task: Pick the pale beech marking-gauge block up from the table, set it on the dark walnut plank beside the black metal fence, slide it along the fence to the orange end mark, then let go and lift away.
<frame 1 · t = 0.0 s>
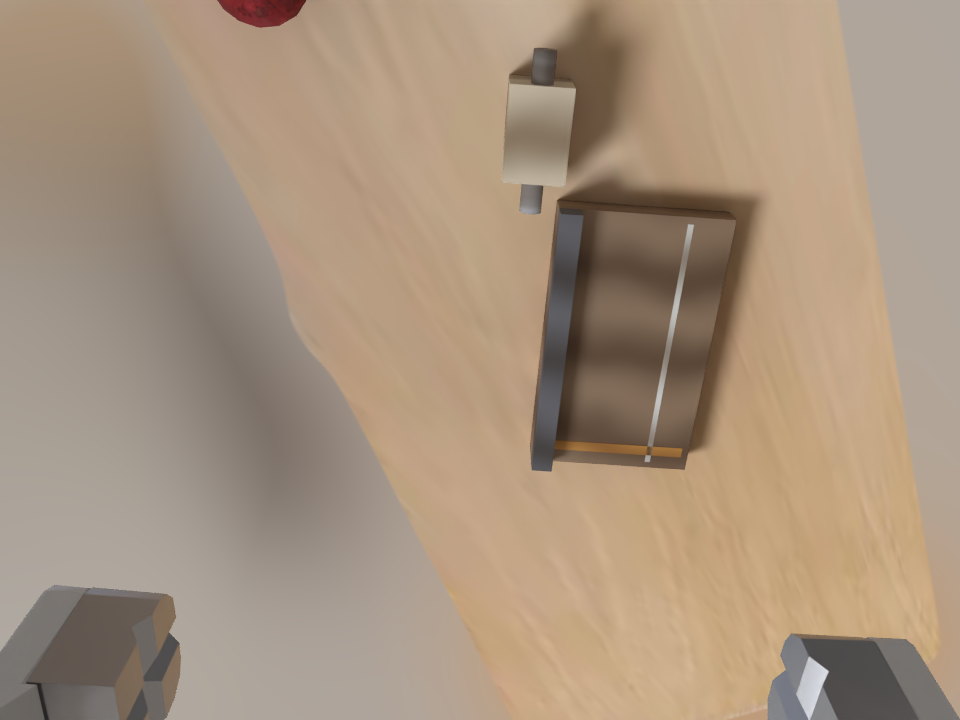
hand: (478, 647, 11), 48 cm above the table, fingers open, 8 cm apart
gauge: (535, 123, 55), on the table
board: (622, 337, 61), on the table
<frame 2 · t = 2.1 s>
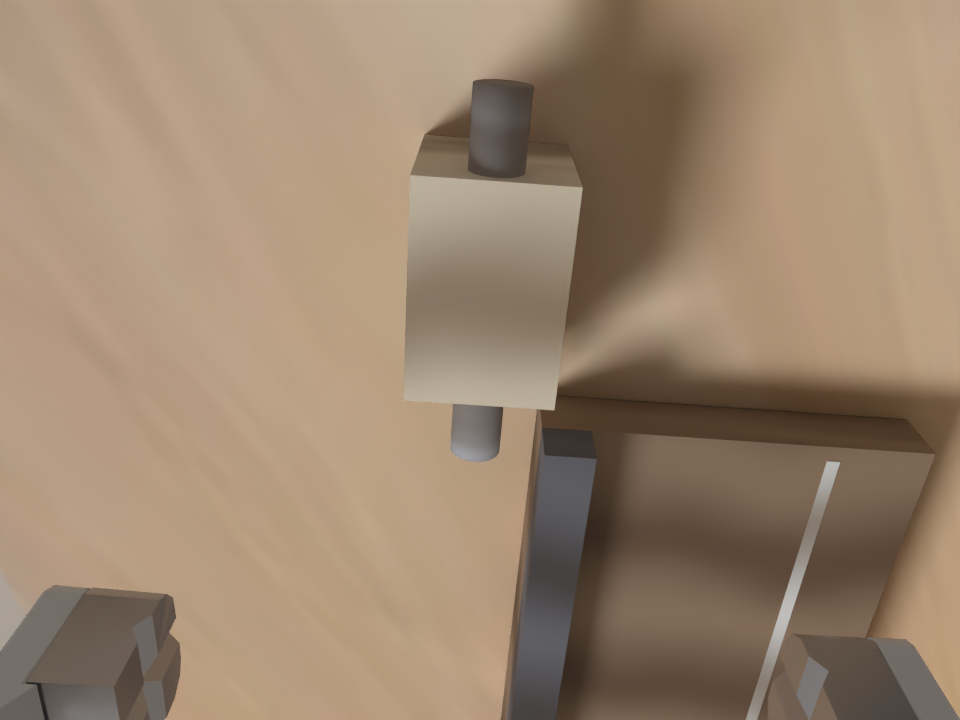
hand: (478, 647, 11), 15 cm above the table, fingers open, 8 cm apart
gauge: (488, 241, 24), on the table
board: (669, 634, 31), on the table
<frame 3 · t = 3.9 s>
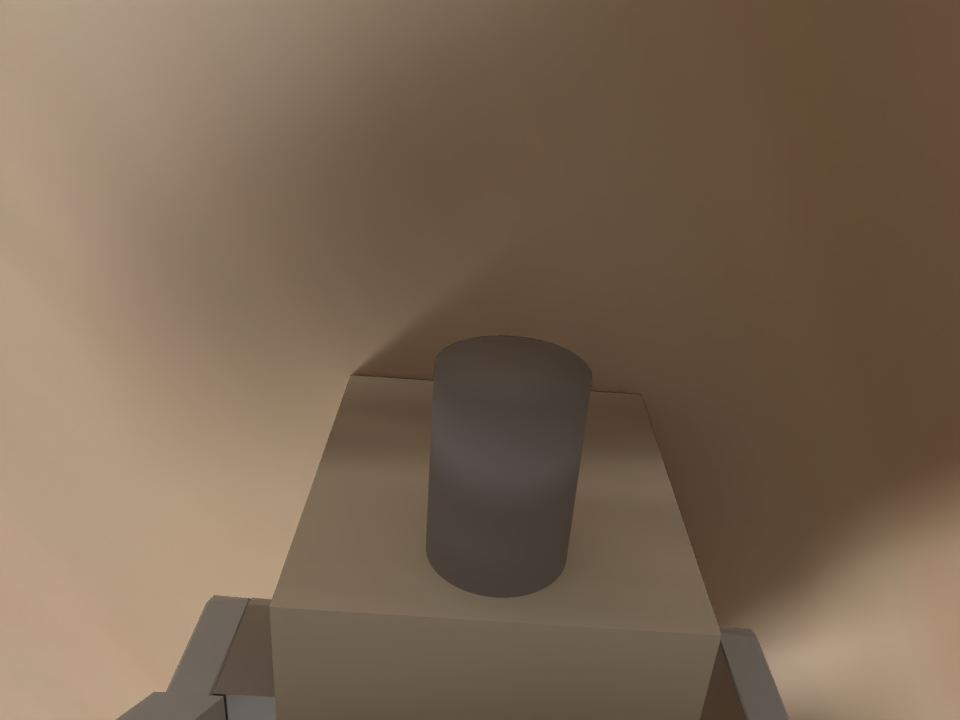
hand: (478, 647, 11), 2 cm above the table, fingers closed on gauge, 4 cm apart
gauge: (481, 557, 13), on the table, touching gripper
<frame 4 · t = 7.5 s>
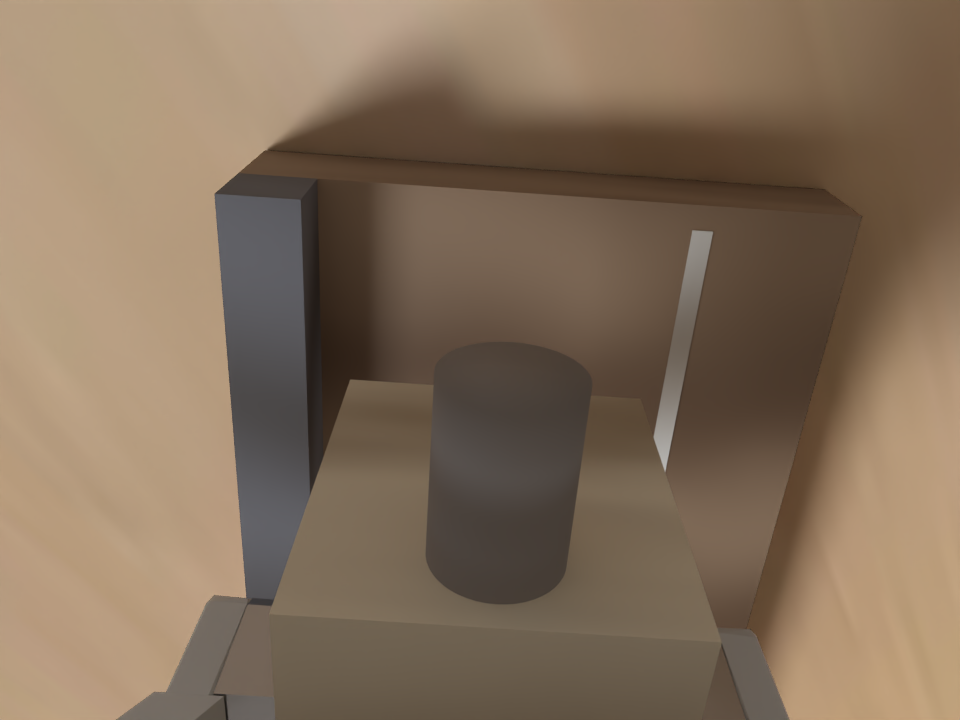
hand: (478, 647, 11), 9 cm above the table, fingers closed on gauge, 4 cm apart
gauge: (481, 561, 13), point 8 cm above the table, touching gripper
board: (508, 542, 22), on the table
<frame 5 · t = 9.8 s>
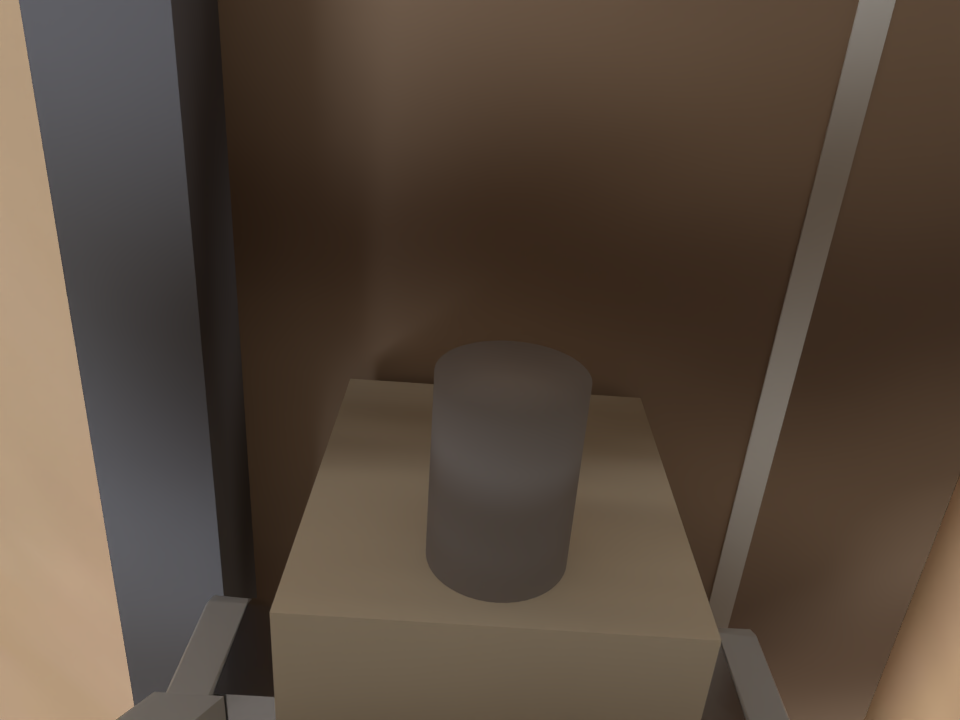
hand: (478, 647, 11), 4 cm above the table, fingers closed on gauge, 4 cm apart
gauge: (481, 560, 13), point 2 cm above the table, touching gripper
board: (529, 529, 15), on the table
when the fingers open (4 cm above the table, at t = 11.5 s): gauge stays where it is, resting on board.
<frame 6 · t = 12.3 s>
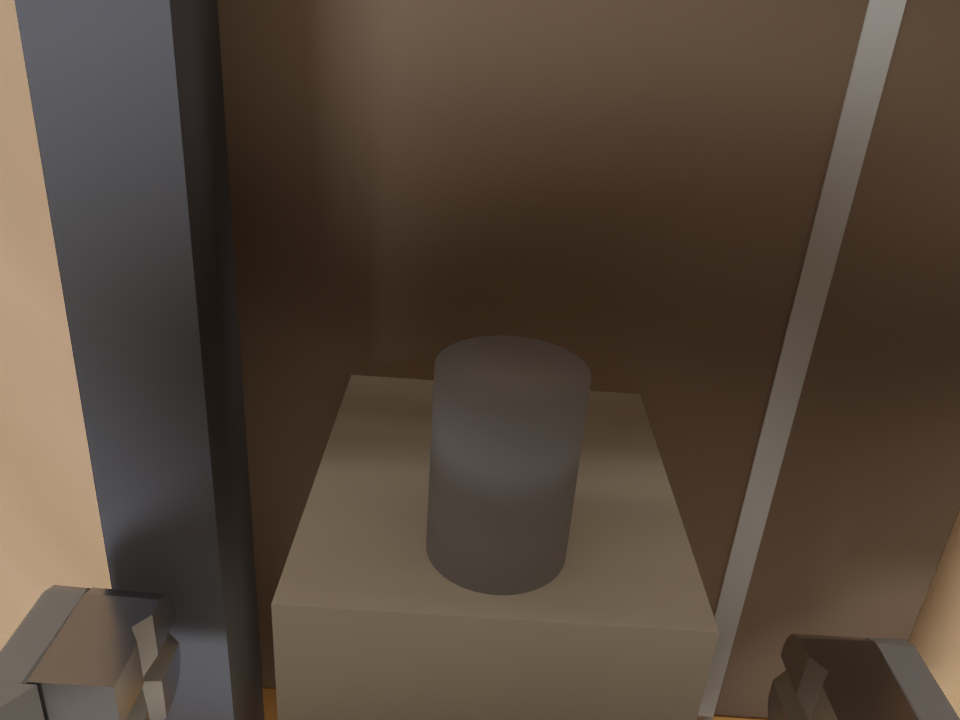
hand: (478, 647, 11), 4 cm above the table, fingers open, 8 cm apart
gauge: (481, 556, 13), point 2 cm above the table, touching board
board: (572, 208, 12), on the table
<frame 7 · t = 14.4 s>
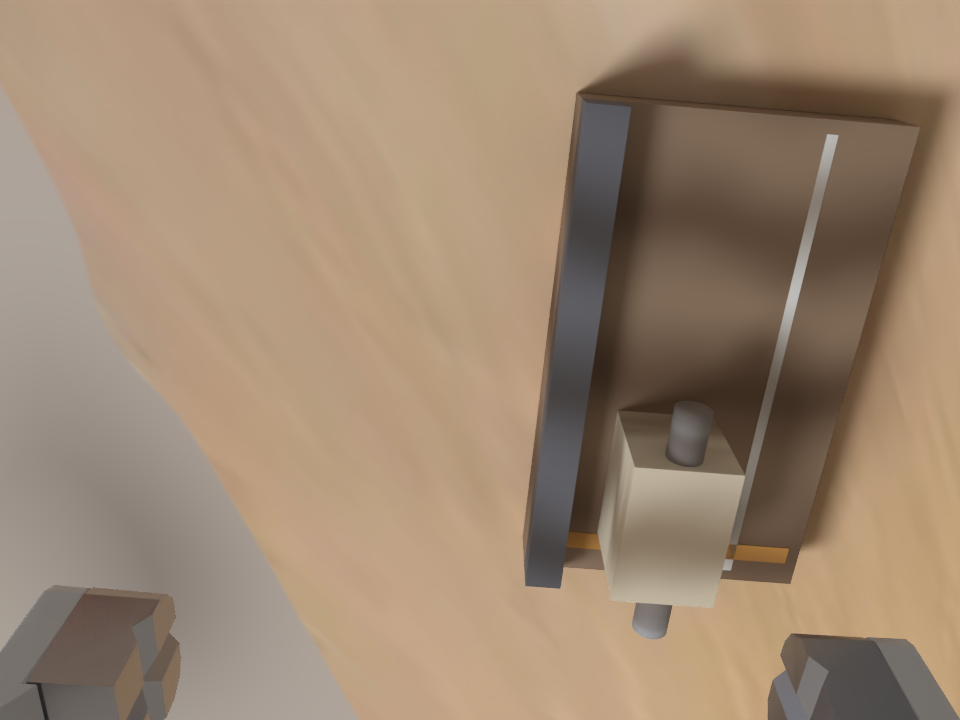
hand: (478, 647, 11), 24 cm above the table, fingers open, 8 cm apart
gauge: (653, 476, 35), point 2 cm above the table, touching board
board: (688, 351, 35), on the table
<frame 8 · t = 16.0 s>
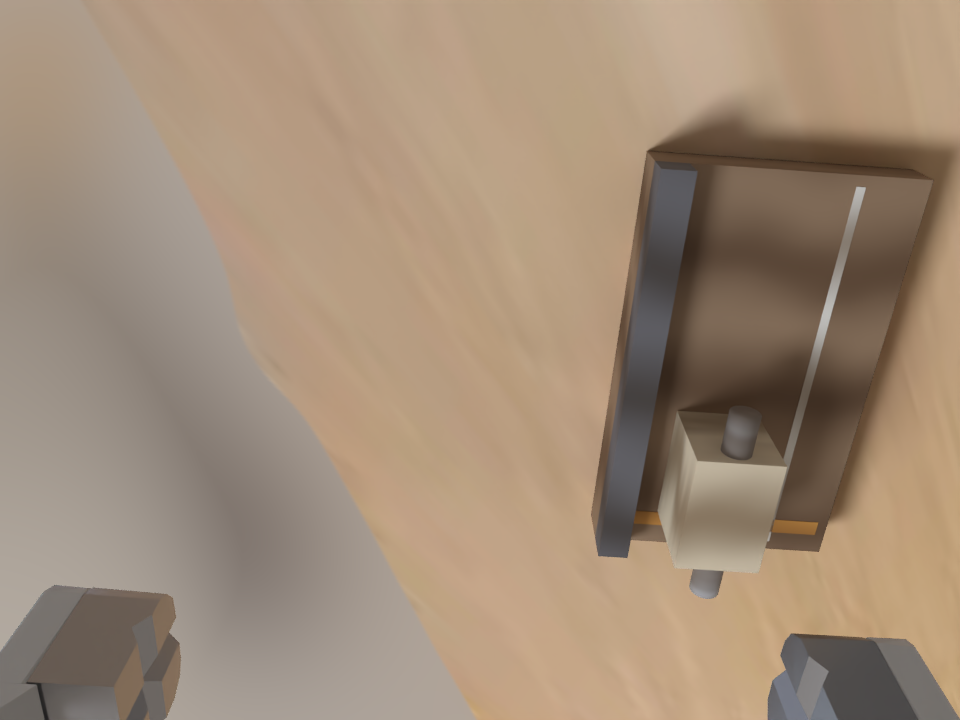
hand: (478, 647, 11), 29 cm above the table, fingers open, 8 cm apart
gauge: (706, 464, 42), point 2 cm above the table, touching board
board: (735, 360, 41), on the table
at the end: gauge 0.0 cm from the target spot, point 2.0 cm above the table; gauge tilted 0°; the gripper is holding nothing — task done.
